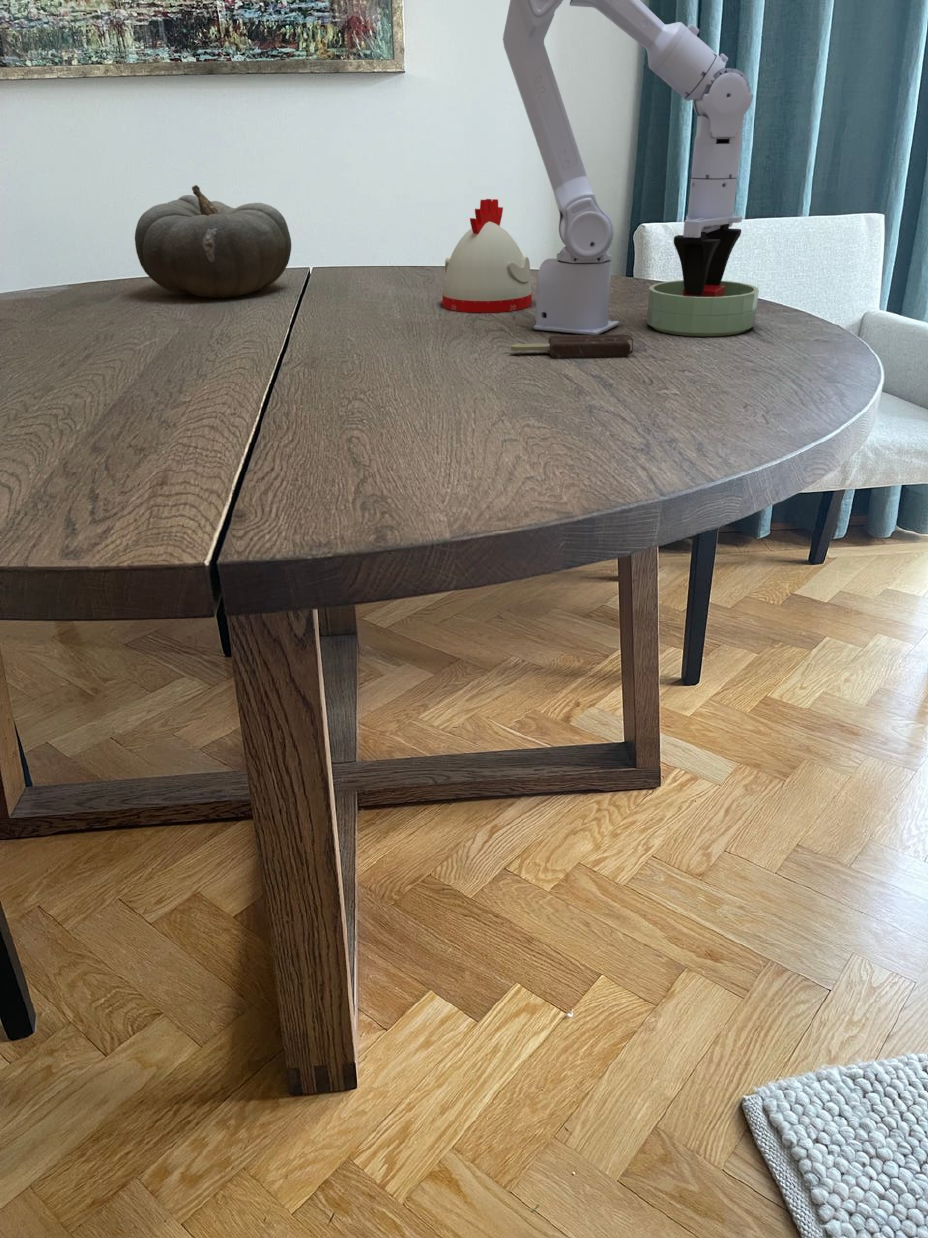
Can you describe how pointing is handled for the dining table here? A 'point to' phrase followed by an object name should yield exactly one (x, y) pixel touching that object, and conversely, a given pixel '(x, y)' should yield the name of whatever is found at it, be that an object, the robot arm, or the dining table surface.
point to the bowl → (702, 310)
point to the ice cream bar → (583, 346)
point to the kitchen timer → (487, 267)
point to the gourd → (212, 246)
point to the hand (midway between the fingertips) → (702, 289)
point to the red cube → (710, 291)
